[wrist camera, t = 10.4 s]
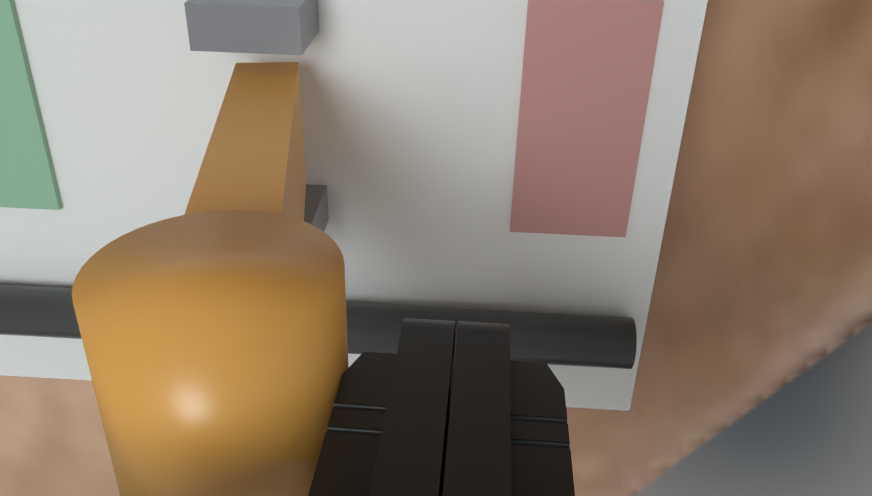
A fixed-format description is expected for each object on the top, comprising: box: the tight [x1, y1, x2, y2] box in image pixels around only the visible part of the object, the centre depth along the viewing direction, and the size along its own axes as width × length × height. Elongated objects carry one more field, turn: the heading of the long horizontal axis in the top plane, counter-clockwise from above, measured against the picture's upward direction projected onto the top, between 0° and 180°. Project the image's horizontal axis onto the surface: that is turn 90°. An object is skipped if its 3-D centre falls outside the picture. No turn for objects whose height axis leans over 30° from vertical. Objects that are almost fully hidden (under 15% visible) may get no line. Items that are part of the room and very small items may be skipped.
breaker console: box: [0, 0, 708, 411], centre depth 21 cm, size 20×18×8 cm
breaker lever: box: [72, 62, 349, 496], centre depth 14 cm, size 3×4×11 cm
